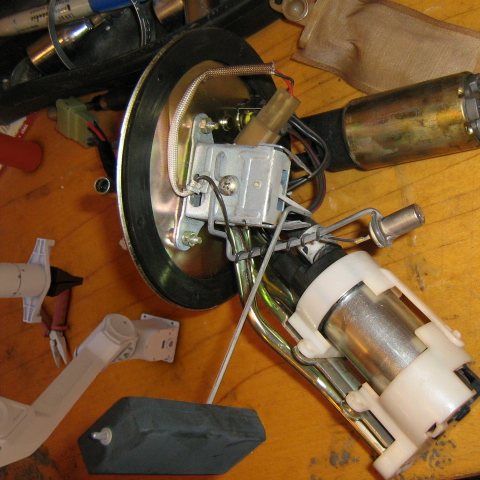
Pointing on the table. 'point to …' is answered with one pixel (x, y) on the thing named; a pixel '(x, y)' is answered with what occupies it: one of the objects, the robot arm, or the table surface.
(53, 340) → the pliers
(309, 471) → the table surface
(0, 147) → the red cylinder
